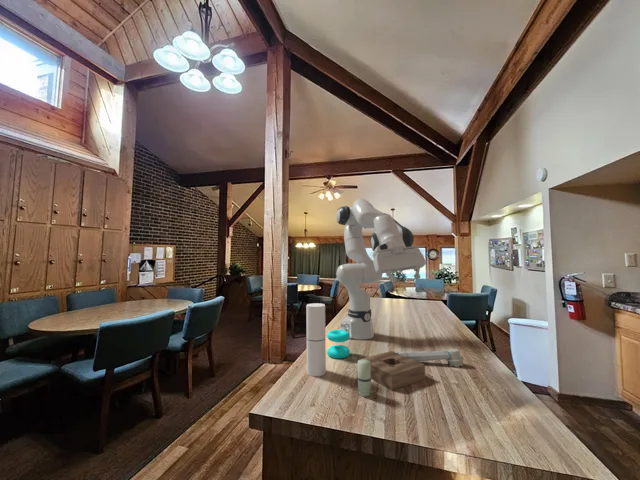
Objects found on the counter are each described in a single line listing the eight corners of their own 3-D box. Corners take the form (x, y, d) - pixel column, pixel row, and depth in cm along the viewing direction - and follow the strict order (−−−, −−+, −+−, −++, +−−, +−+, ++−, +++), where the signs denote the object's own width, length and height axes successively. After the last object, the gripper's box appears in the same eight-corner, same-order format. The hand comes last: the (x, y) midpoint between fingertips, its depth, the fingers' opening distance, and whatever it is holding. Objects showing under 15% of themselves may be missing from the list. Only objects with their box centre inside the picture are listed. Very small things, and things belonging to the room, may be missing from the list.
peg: (355, 393, 88) (354, 361, 88) (365, 389, 90) (364, 358, 90) (363, 398, 84) (363, 365, 85) (373, 395, 86) (373, 362, 87)
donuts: (340, 327, 128) (354, 332, 120) (340, 349, 128) (354, 356, 119) (322, 331, 123) (335, 336, 114) (322, 354, 122) (335, 361, 114)
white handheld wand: (396, 350, 116) (458, 344, 112) (398, 366, 116) (461, 361, 111) (397, 354, 111) (463, 349, 107) (400, 371, 110) (466, 366, 106)
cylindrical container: (303, 374, 101) (303, 306, 103) (310, 367, 108) (310, 302, 109) (321, 377, 99) (321, 307, 100) (328, 369, 106) (327, 303, 107)
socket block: (360, 372, 103) (360, 358, 103) (391, 363, 111) (391, 350, 111) (392, 390, 89) (391, 374, 89) (425, 378, 97) (424, 364, 98)
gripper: (414, 249, 115) (427, 279, 108) (368, 255, 110) (379, 287, 103) (420, 241, 110) (435, 272, 103) (373, 247, 105) (384, 280, 98)
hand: (406, 280), depth 103 cm, fingers open, 8 cm apart
